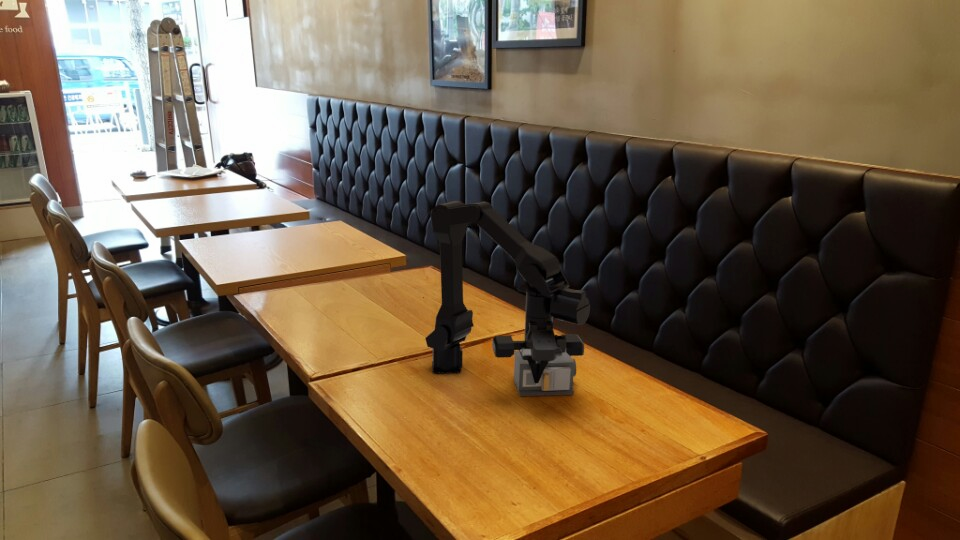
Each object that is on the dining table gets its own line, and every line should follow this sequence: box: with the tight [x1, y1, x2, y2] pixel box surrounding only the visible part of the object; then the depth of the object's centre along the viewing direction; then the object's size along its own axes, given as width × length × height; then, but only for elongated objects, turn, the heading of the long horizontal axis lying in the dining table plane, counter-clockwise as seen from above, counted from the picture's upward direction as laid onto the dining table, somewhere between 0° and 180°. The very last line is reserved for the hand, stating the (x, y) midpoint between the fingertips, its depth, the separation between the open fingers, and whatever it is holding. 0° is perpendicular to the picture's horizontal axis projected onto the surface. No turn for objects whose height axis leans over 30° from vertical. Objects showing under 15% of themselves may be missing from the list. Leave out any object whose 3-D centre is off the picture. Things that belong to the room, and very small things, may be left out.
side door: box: [541, 367, 571, 391], centre depth 146 cm, size 6×2×5 cm, turn 96°
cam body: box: [513, 350, 577, 397], centre depth 150 cm, size 13×8×8 cm, turn 96°
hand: (536, 382), depth 145 cm, fingers closed
